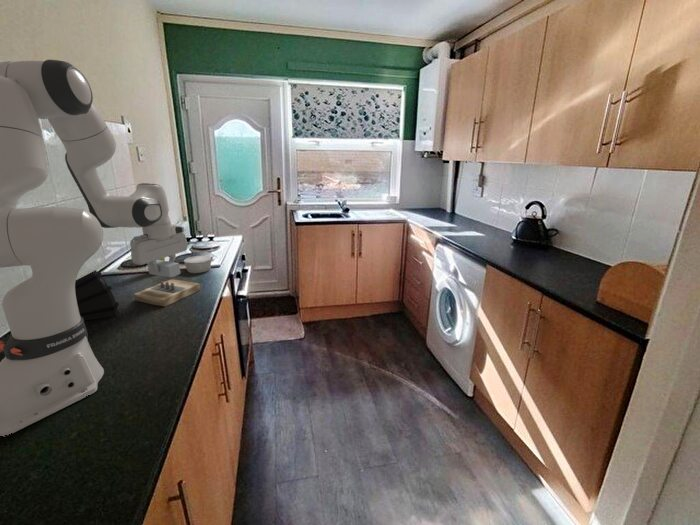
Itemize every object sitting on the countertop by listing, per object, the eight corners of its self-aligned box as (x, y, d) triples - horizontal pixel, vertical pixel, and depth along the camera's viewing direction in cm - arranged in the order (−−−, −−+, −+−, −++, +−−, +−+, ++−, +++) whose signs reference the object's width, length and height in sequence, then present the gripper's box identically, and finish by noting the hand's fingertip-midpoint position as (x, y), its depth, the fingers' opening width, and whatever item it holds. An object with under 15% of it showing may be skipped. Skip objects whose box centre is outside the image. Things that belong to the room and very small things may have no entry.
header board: (164, 306, 114) (162, 293, 112) (135, 300, 119) (132, 287, 117) (200, 289, 128) (198, 277, 127) (172, 284, 133) (170, 273, 131)
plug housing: (180, 273, 121) (178, 263, 120) (170, 277, 117) (168, 266, 116) (159, 270, 125) (157, 259, 123) (149, 273, 121) (147, 263, 120)
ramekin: (194, 265, 156) (193, 254, 155) (217, 266, 155) (216, 255, 153) (179, 273, 146) (178, 262, 144) (203, 275, 144) (202, 263, 143)
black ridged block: (126, 311, 107) (92, 272, 101) (86, 332, 105) (49, 294, 99) (130, 306, 110) (97, 268, 104) (91, 327, 109) (56, 290, 103)
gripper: (136, 238, 106) (144, 280, 110) (187, 226, 124) (192, 262, 128) (122, 237, 108) (130, 277, 112) (174, 225, 126) (180, 260, 131)
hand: (164, 269), depth 121 cm, fingers closed on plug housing, 4 cm apart
